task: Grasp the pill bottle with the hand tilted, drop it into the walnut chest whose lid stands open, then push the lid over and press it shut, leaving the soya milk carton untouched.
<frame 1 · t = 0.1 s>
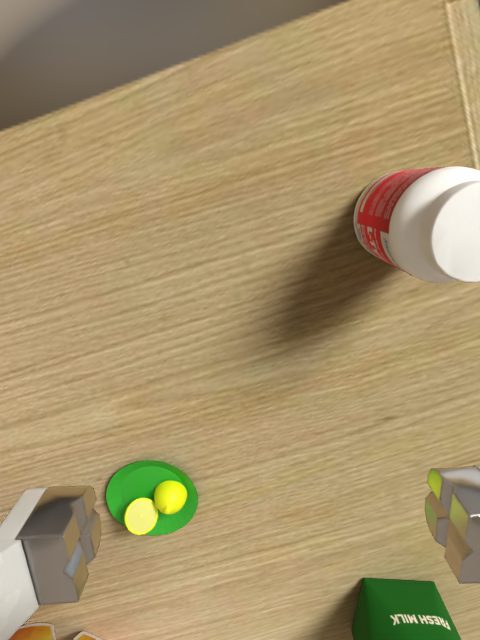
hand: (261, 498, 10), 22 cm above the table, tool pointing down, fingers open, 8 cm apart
soya milk: (390, 604, 42), on the table
plate with lemons: (153, 492, 37), on the table
pill bottle: (393, 216, 30), on the table
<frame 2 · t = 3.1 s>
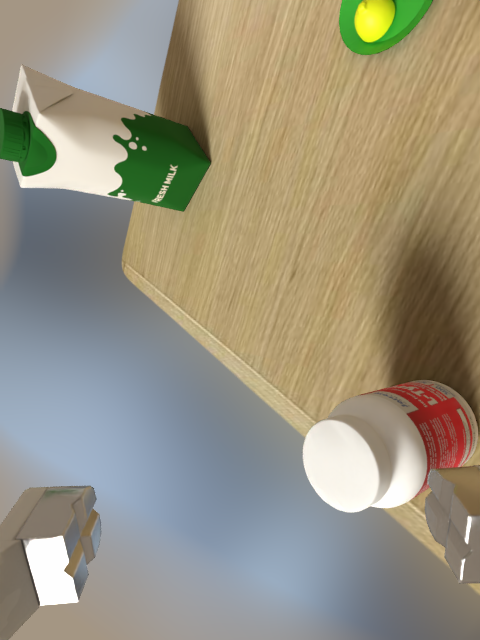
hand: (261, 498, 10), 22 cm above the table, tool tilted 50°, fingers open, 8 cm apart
soya milk: (187, 169, 50), on the table
pill bottle: (432, 422, 29), on the table
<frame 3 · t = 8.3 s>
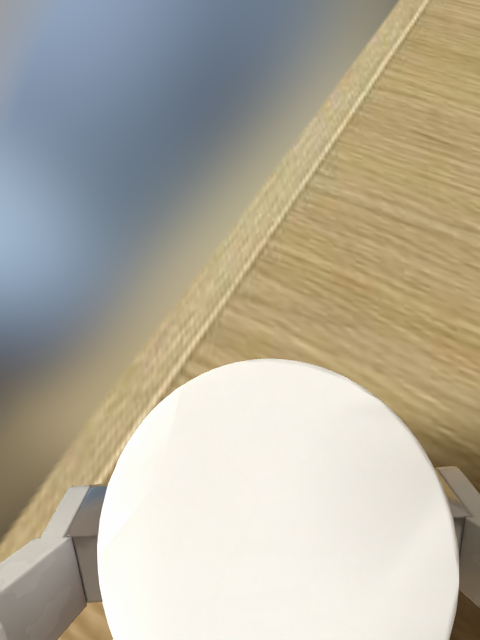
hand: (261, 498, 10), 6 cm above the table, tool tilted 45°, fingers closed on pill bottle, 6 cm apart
pill bottle: (260, 528, 15), on the table, touching gripper
when the fingers open (17 cm above the table, at t = 24.5 s): pill bottle drops 10 cm, resting on chest.
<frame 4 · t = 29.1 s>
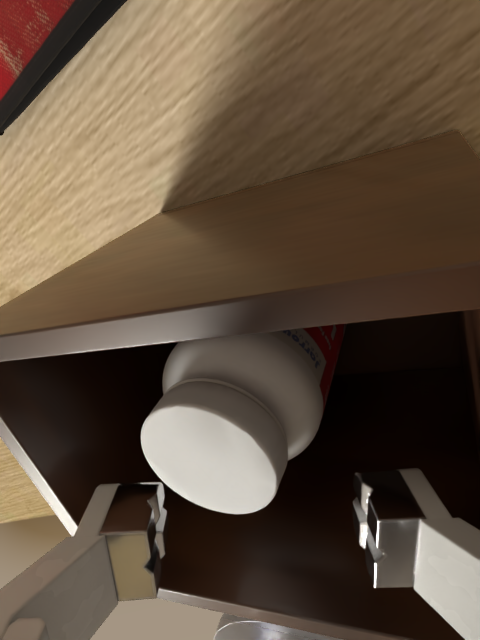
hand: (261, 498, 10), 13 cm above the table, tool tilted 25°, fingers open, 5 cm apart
chest: (313, 288, 22), on the table
pill bottle: (290, 300, 22), point 1 cm above the table, touching chest
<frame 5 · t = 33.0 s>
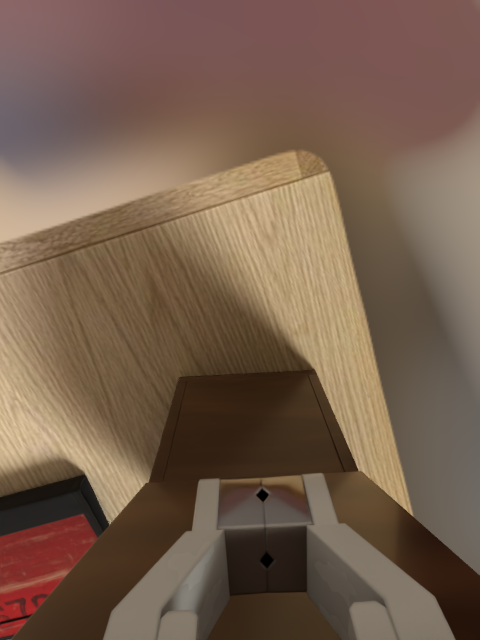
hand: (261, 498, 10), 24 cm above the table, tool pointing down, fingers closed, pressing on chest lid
chest: (250, 446, 38), on the table
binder: (22, 560, 42), on the table, touching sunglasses
chest lid: (258, 546, 14), point 21 cm above the table, hinge at 114.8°, touching gripper
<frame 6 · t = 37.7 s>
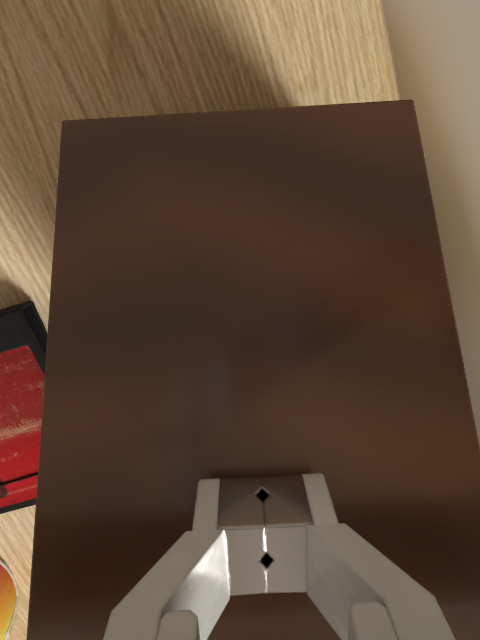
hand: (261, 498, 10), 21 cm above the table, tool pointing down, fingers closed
chest lid: (250, 344, 12), point 18 cm above the table, hinge at 32.8°, touching gripper
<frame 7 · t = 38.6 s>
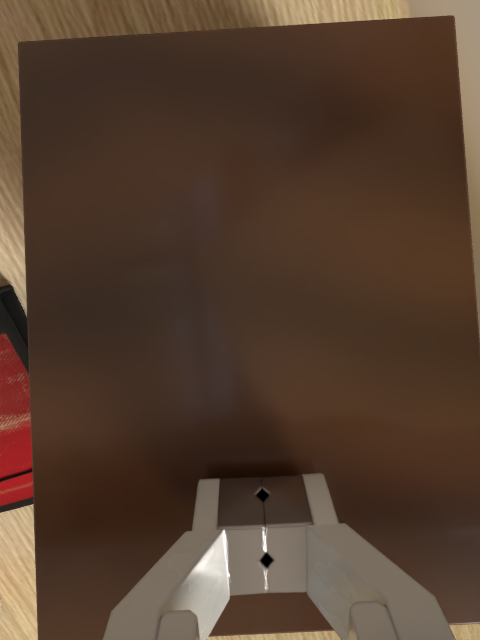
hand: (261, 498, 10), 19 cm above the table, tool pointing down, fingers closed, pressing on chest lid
chest lid: (251, 322, 11), point 16 cm above the table, hinge at 20.3°, touching gripper
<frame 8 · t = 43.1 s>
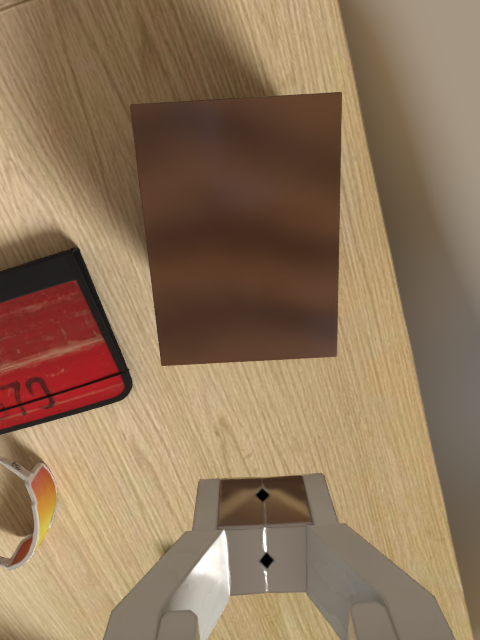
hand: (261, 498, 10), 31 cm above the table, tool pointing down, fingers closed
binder: (16, 350, 42), on the table
chest lid: (242, 241, 25), point 14 cm above the table, hinge at 0.2°
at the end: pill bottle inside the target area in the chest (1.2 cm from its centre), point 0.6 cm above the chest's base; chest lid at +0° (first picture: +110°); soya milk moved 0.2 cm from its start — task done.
